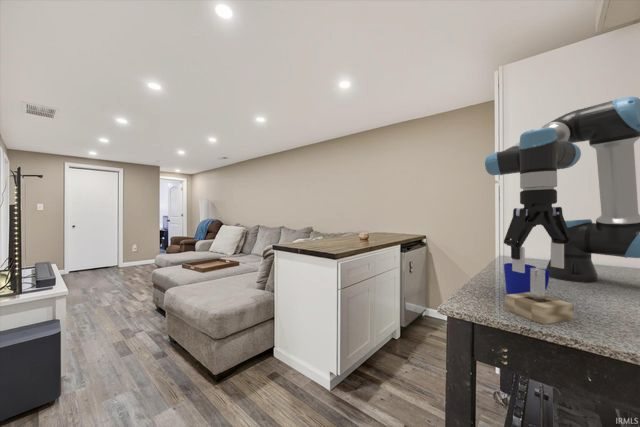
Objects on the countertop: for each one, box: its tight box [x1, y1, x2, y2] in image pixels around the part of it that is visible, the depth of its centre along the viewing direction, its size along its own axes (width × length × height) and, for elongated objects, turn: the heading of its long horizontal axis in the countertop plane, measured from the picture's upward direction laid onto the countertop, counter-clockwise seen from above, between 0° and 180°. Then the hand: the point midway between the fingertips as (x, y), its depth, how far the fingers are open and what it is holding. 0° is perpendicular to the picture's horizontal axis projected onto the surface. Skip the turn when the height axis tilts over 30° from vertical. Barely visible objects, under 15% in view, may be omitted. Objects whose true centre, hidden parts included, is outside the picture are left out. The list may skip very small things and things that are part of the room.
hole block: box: [504, 292, 574, 325], centre depth 69 cm, size 10×10×4 cm
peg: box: [530, 267, 546, 303], centre depth 69 cm, size 3×3×12 cm
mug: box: [503, 262, 550, 295], centre depth 82 cm, size 8×12×10 cm
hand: (538, 269), depth 69 cm, fingers open, 13 cm apart
